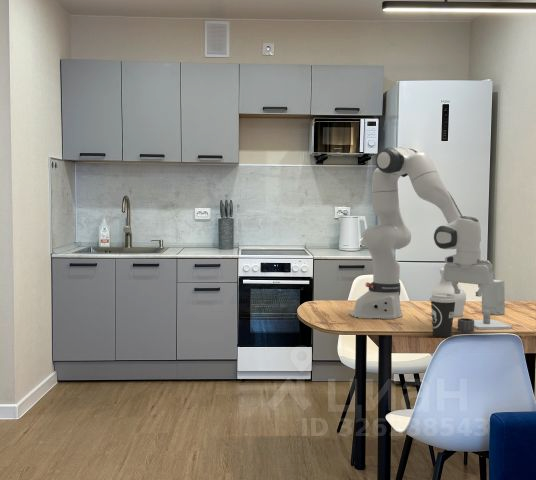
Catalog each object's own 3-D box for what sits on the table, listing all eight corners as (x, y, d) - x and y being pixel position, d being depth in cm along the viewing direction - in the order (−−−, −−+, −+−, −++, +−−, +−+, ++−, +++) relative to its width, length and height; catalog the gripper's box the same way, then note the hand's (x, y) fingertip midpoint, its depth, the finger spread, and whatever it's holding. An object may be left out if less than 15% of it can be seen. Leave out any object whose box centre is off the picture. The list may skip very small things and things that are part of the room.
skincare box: (504, 314, 284) (506, 280, 283) (496, 315, 280) (497, 281, 279) (488, 311, 291) (490, 278, 290) (480, 312, 287) (481, 279, 286)
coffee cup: (448, 339, 232) (449, 297, 231) (424, 335, 239) (425, 294, 238) (460, 335, 239) (461, 294, 238) (436, 331, 246) (437, 292, 245)
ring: (461, 331, 245) (462, 321, 245) (455, 328, 251) (455, 318, 251) (476, 331, 246) (477, 321, 246) (469, 328, 252) (469, 318, 252)
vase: (426, 311, 288) (427, 267, 286) (457, 311, 289) (459, 267, 288) (438, 317, 274) (439, 270, 272) (470, 317, 275) (472, 270, 274)
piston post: (478, 329, 250) (478, 314, 249) (462, 322, 263) (462, 308, 263) (511, 329, 252) (512, 313, 251) (494, 322, 265) (494, 307, 265)
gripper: (497, 260, 241) (496, 297, 241) (451, 256, 257) (450, 291, 257) (487, 261, 237) (487, 298, 237) (441, 257, 253) (440, 292, 254)
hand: (467, 295), depth 248 cm, fingers open, 8 cm apart
